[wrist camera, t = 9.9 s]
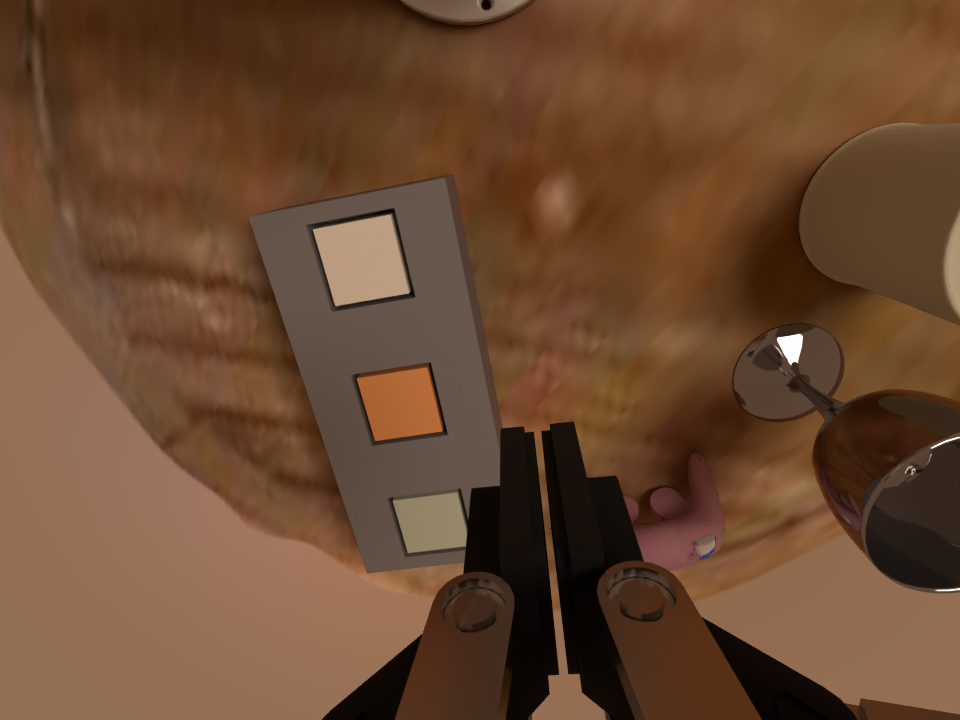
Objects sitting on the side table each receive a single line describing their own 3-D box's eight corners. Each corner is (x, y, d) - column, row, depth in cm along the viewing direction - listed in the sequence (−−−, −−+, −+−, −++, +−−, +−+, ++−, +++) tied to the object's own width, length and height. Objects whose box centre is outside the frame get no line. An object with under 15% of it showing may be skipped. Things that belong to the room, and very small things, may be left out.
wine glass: (701, 377, 36) (824, 520, 22) (801, 292, 34) (1010, 393, 20) (775, 447, 38) (933, 622, 24) (876, 371, 35) (1117, 516, 21)
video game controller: (573, 498, 42) (592, 590, 37) (566, 470, 39) (585, 566, 34) (701, 475, 41) (737, 567, 36) (705, 444, 37) (746, 540, 33)
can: (817, 308, 34) (969, 385, 23) (780, 169, 31) (932, 180, 20) (974, 245, 32) (1224, 296, 21) (950, 92, 29) (1223, 55, 18)
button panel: (280, 208, 33) (248, 216, 29) (453, 174, 32) (445, 177, 28) (381, 531, 42) (367, 573, 38) (519, 514, 41) (520, 555, 37)
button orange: (368, 360, 35) (356, 378, 32) (433, 349, 35) (427, 367, 32) (385, 419, 37) (375, 441, 34) (447, 409, 36) (442, 431, 33)
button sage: (401, 475, 38) (392, 500, 35) (460, 467, 38) (457, 492, 35) (414, 524, 40) (407, 553, 37) (472, 517, 39) (469, 545, 37)
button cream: (329, 222, 32) (312, 229, 29) (400, 208, 31) (390, 214, 29) (349, 293, 33) (335, 306, 31) (417, 281, 33) (409, 293, 30)
